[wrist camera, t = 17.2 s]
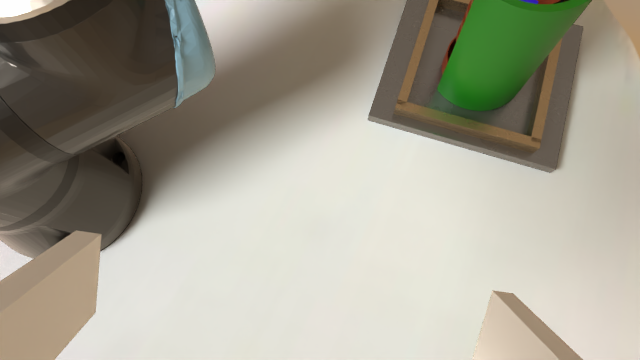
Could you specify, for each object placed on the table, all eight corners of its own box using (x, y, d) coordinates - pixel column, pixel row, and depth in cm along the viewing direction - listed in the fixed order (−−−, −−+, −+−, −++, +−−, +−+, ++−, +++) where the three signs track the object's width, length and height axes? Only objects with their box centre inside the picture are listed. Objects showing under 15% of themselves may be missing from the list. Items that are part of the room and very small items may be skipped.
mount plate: (367, 120, 46) (369, 109, 44) (410, -8, 51) (414, -24, 48) (550, 172, 44) (563, 164, 41) (577, 33, 48) (590, 18, 46)
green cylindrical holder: (460, 22, 48) (541, -165, 29) (536, 51, 46) (673, -127, 27) (426, 93, 46) (488, -61, 26) (504, 125, 44) (630, -12, 25)
